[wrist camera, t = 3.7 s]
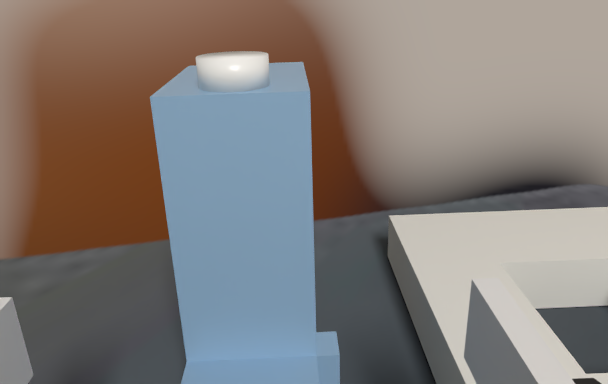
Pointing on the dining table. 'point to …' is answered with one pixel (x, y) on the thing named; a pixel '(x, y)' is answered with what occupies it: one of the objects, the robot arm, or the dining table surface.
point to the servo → (243, 220)
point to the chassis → (497, 273)
